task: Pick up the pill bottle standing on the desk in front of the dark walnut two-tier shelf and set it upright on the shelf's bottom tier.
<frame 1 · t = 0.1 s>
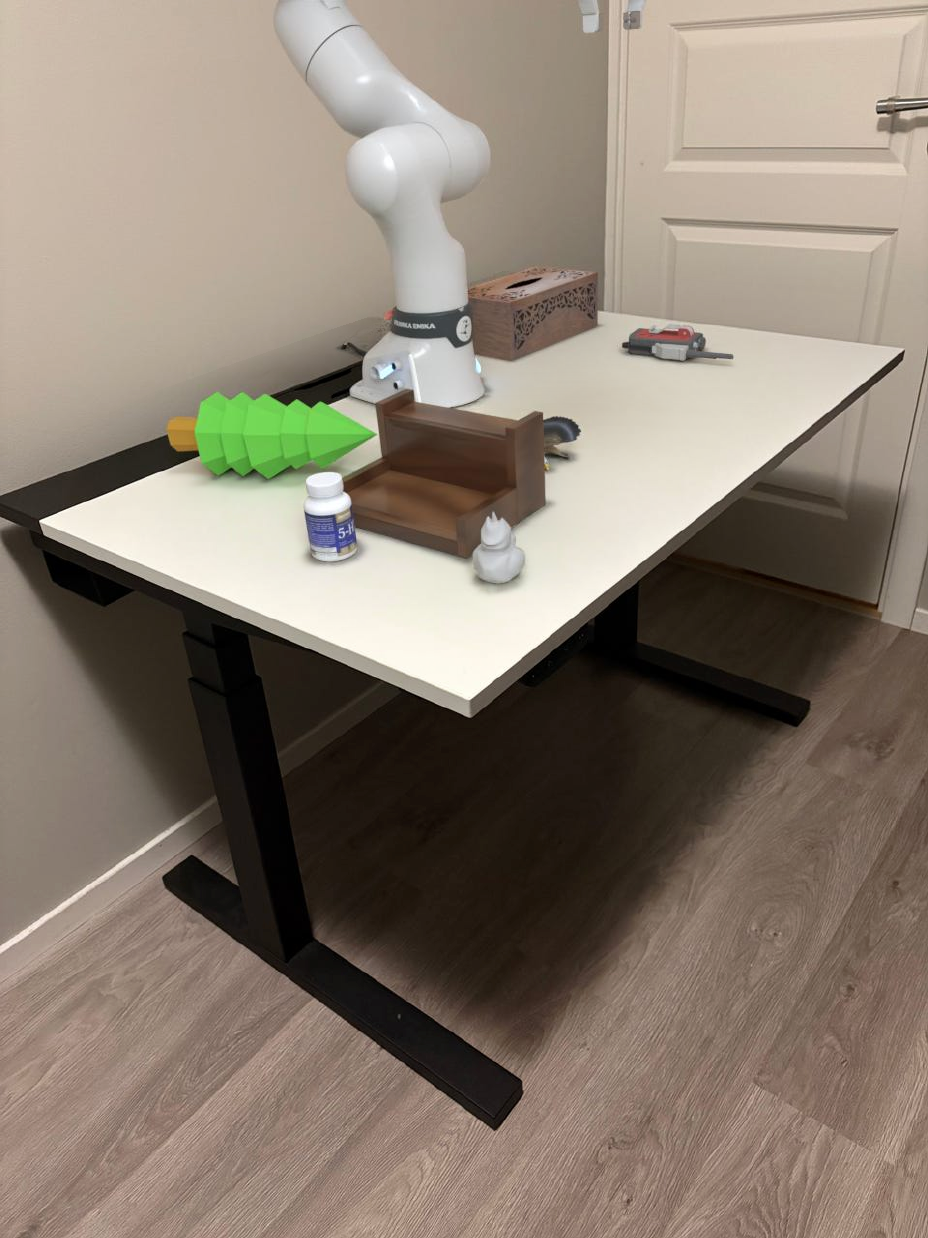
hand: (613, 30, 110), 48 cm above the table, tool pointing down, fingers open, 8 cm apart
tissue box cover: (526, 339, 178), on the table
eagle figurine: (540, 466, 125), on the table
rubber duck: (500, 578, 100), on the table
shelf: (448, 505, 115), on the table
pill bottle: (335, 553, 107), on the table
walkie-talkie: (680, 355, 162), on the table
decorative tree: (277, 475, 128), on the table
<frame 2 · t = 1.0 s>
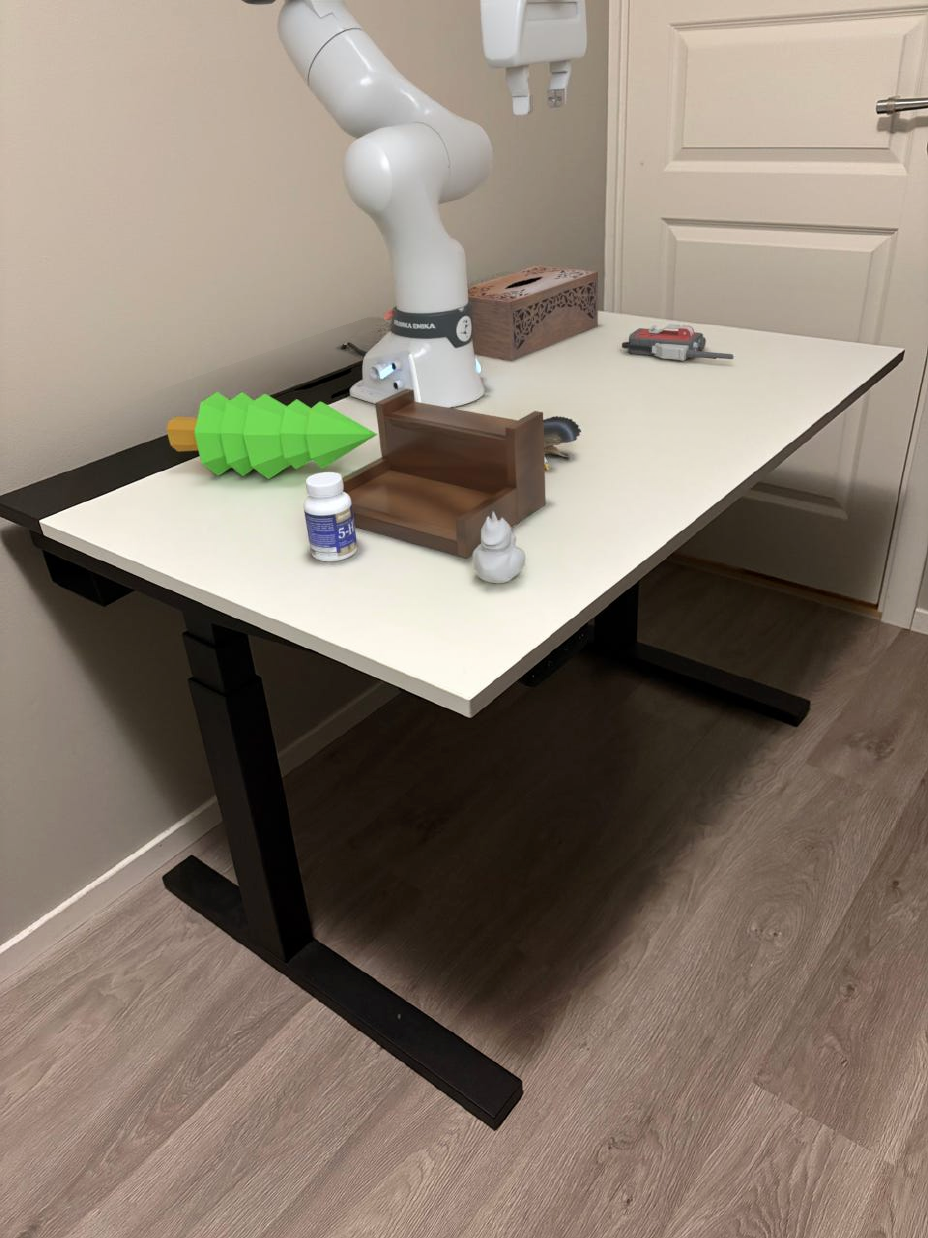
hand: (540, 110, 107), 41 cm above the table, tool pointing down, fingers open, 8 cm apart
nothing on the table moved.
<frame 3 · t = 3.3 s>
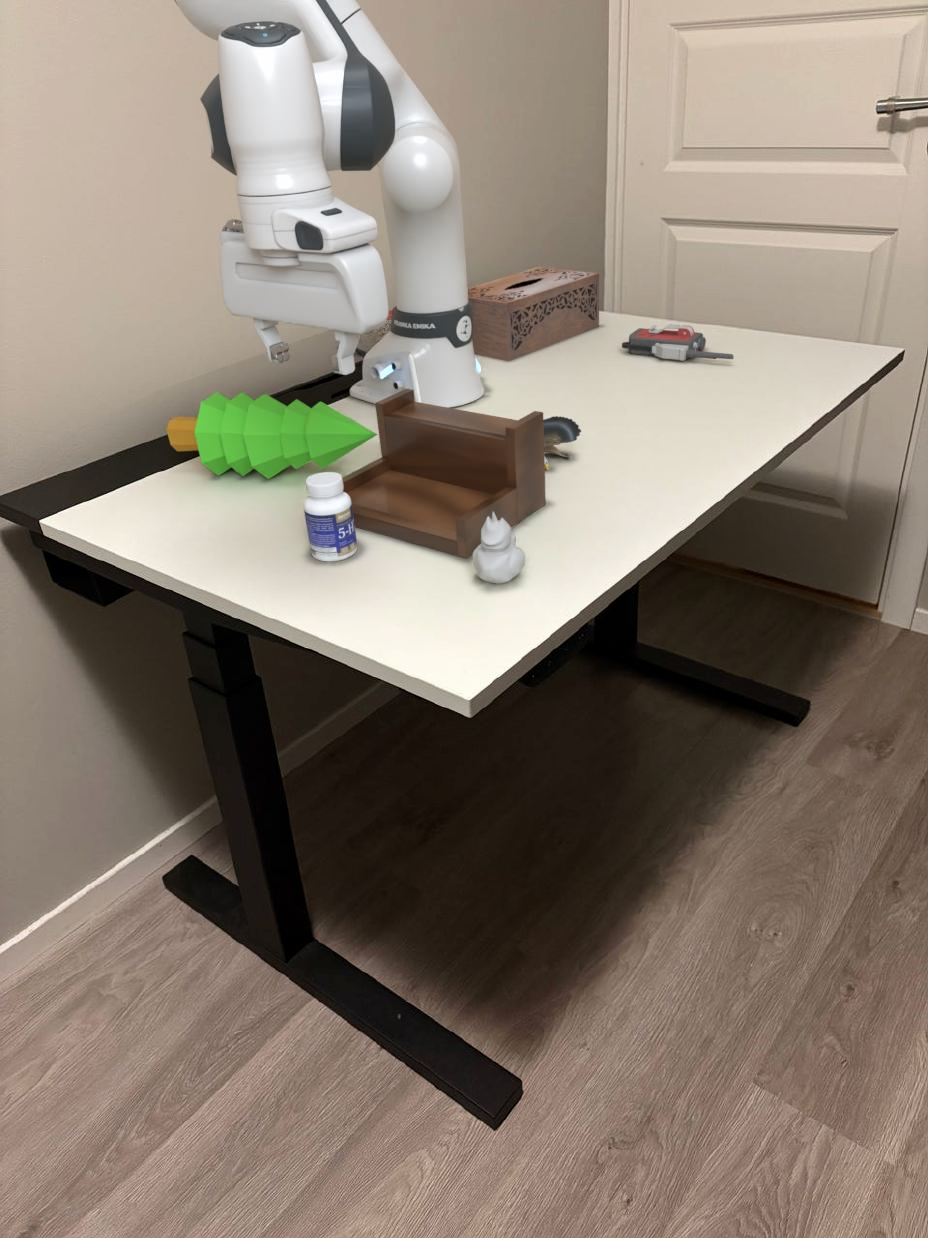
hand: (311, 366, 97), 21 cm above the table, tool pointing down, fingers open, 8 cm apart
nothing on the table moved.
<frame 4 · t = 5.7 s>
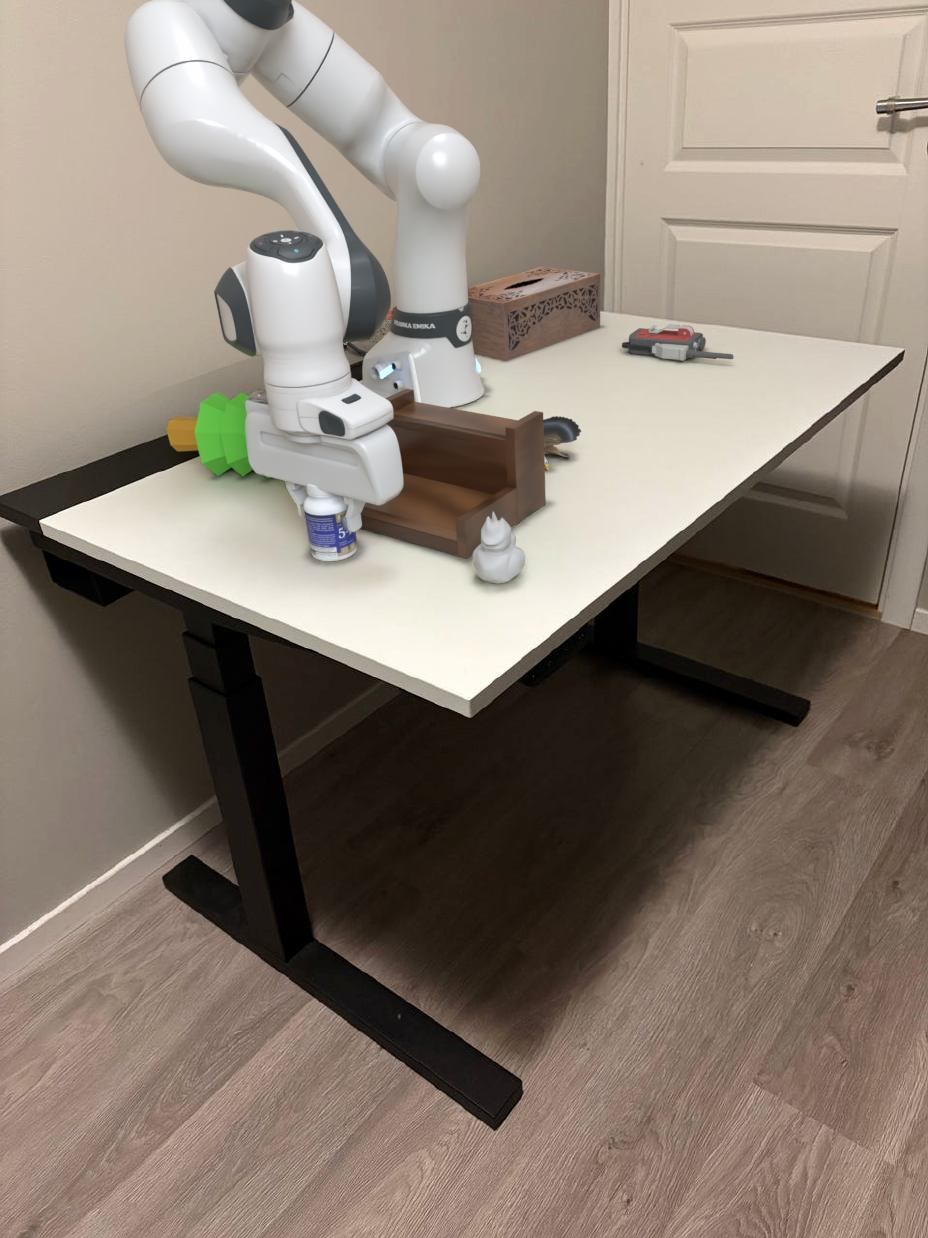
hand: (330, 522, 105), 4 cm above the table, tool pointing down, fingers closed on pill bottle, 5 cm apart
pill bottle: (335, 553, 107), on the table, touching gripper
everything else where it was.
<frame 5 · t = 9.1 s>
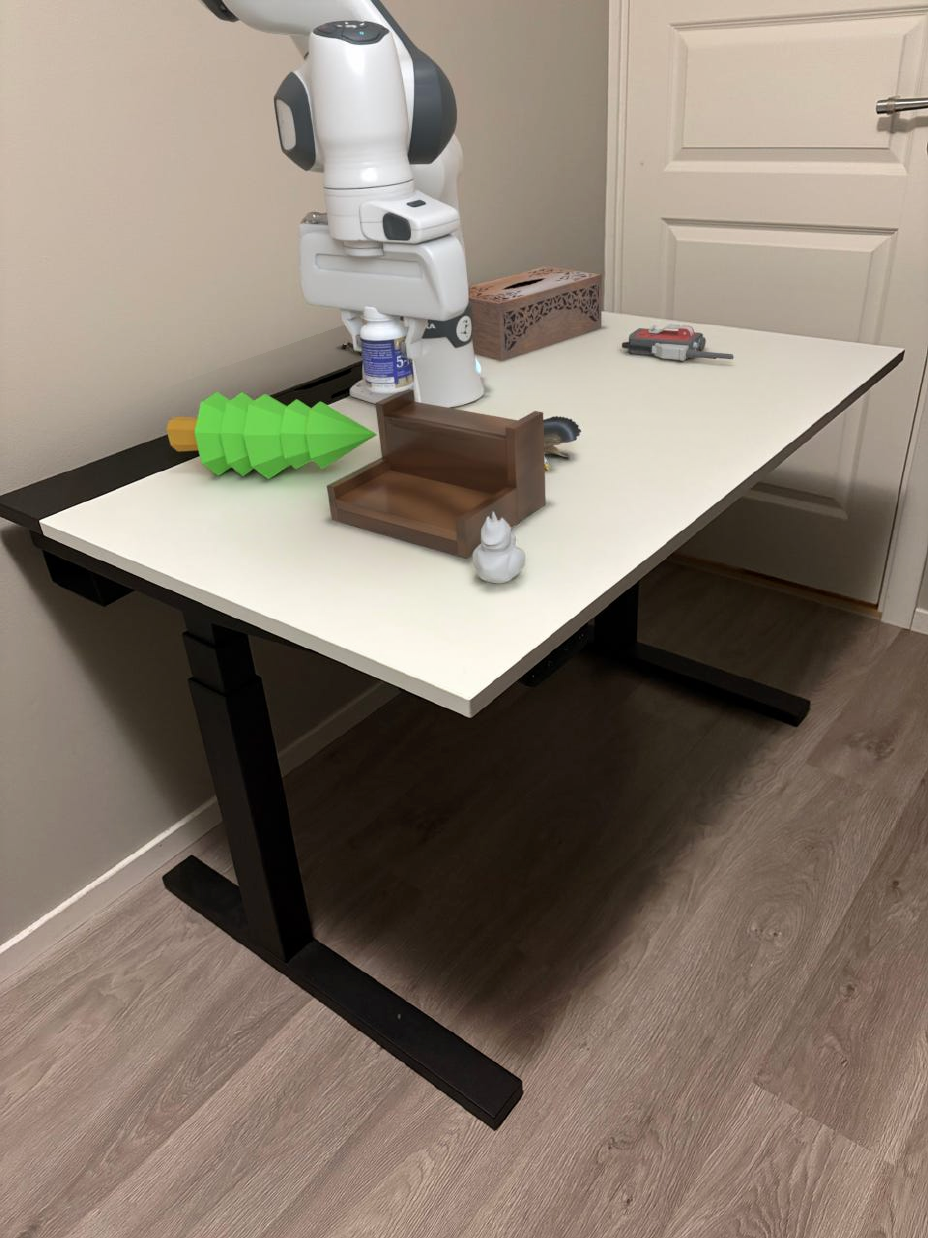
hand: (387, 353, 101), 20 cm above the table, tool pointing down, fingers closed on pill bottle, 5 cm apart
pill bottle: (391, 388, 103), point 17 cm above the table, touching gripper
everything else where it was.
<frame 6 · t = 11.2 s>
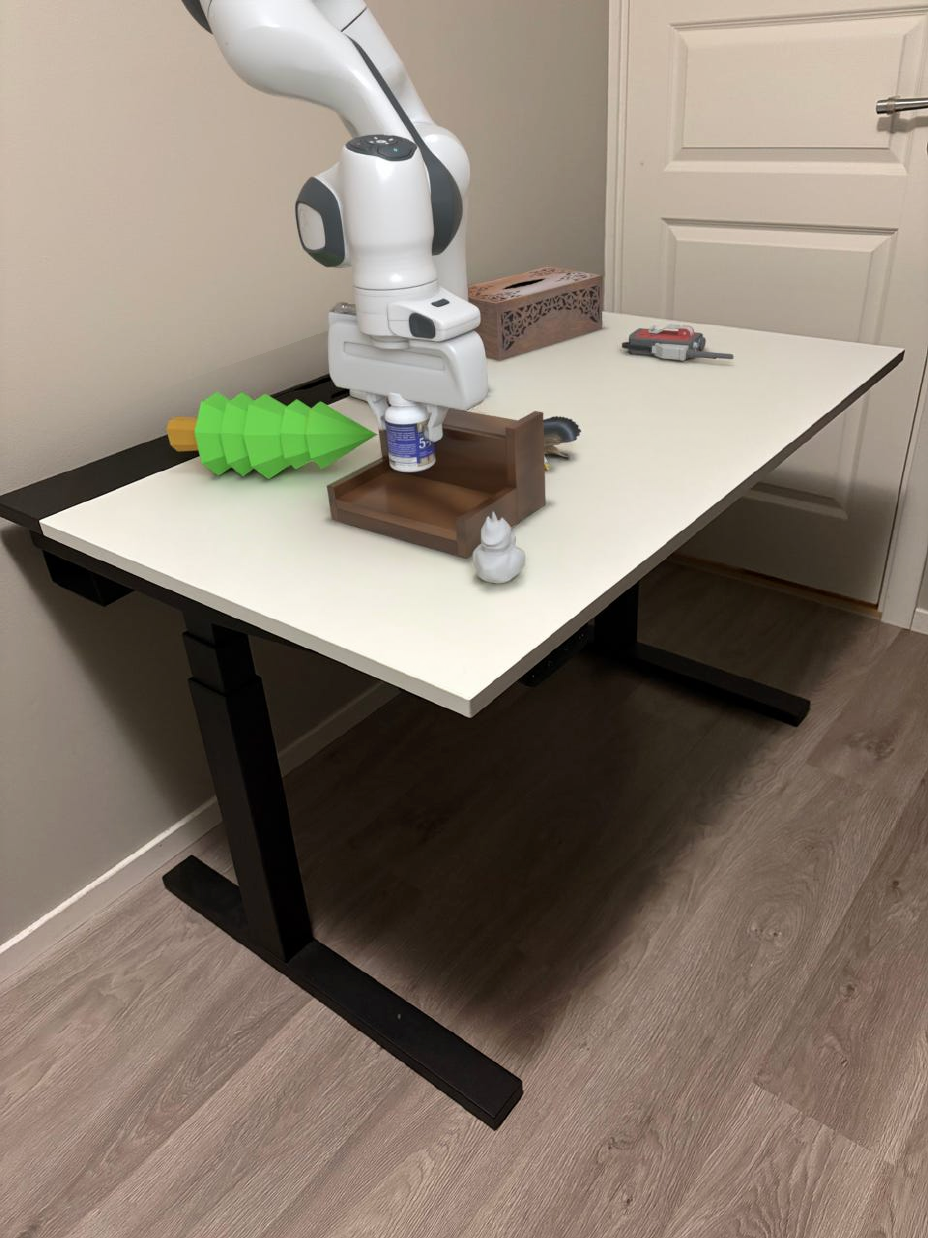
hand: (410, 434, 107), 11 cm above the table, tool pointing down, fingers closed on pill bottle, 5 cm apart
pill bottle: (413, 465, 109), point 7 cm above the table, touching gripper
when the fingers open (6 cm above the table, at t = 12.8 s): pill bottle stays where it is, resting on shelf.
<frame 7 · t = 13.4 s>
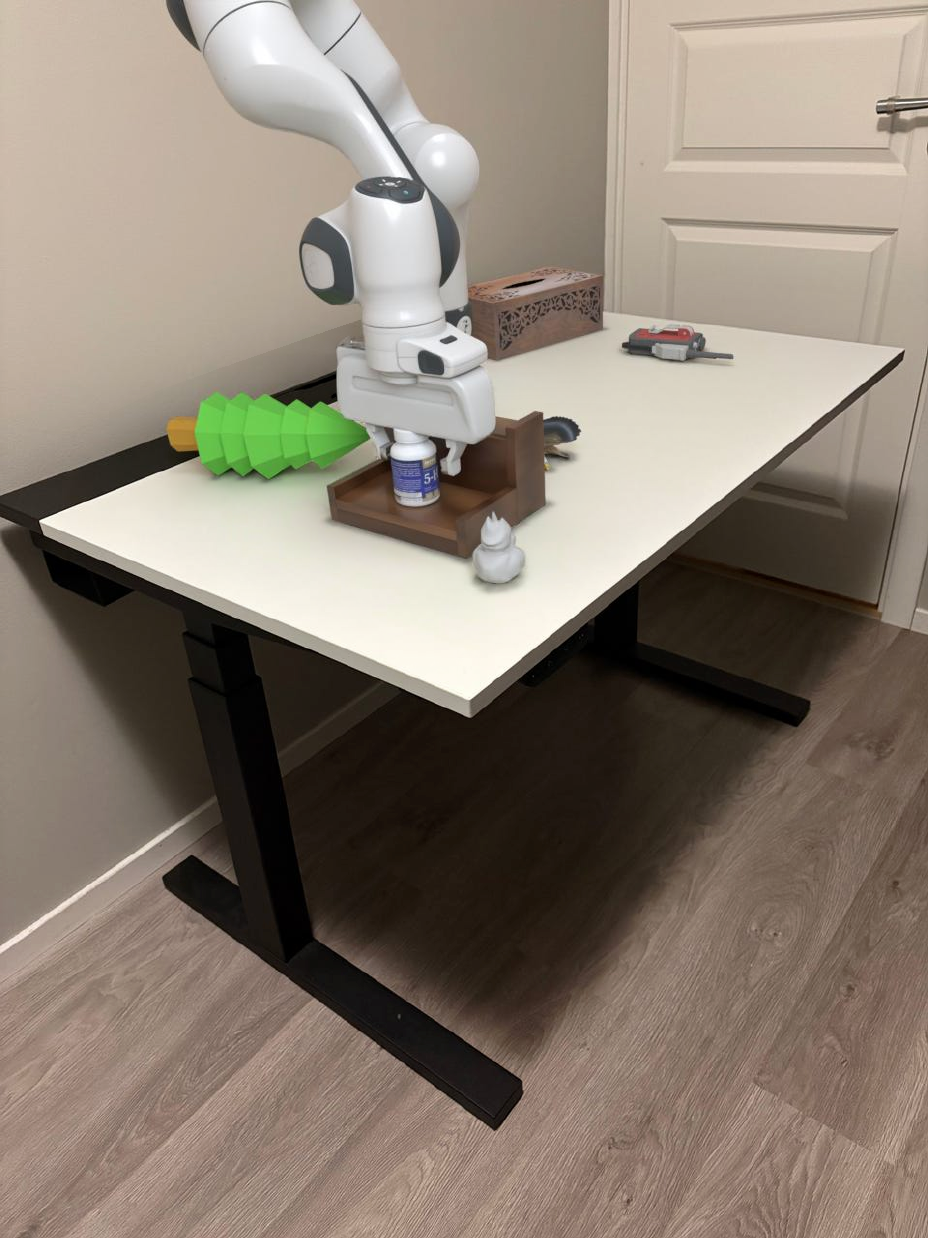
hand: (418, 465, 108), 7 cm above the table, tool pointing down, fingers open, 8 cm apart
pill bottle: (418, 499, 111), point 3 cm above the table, touching shelf
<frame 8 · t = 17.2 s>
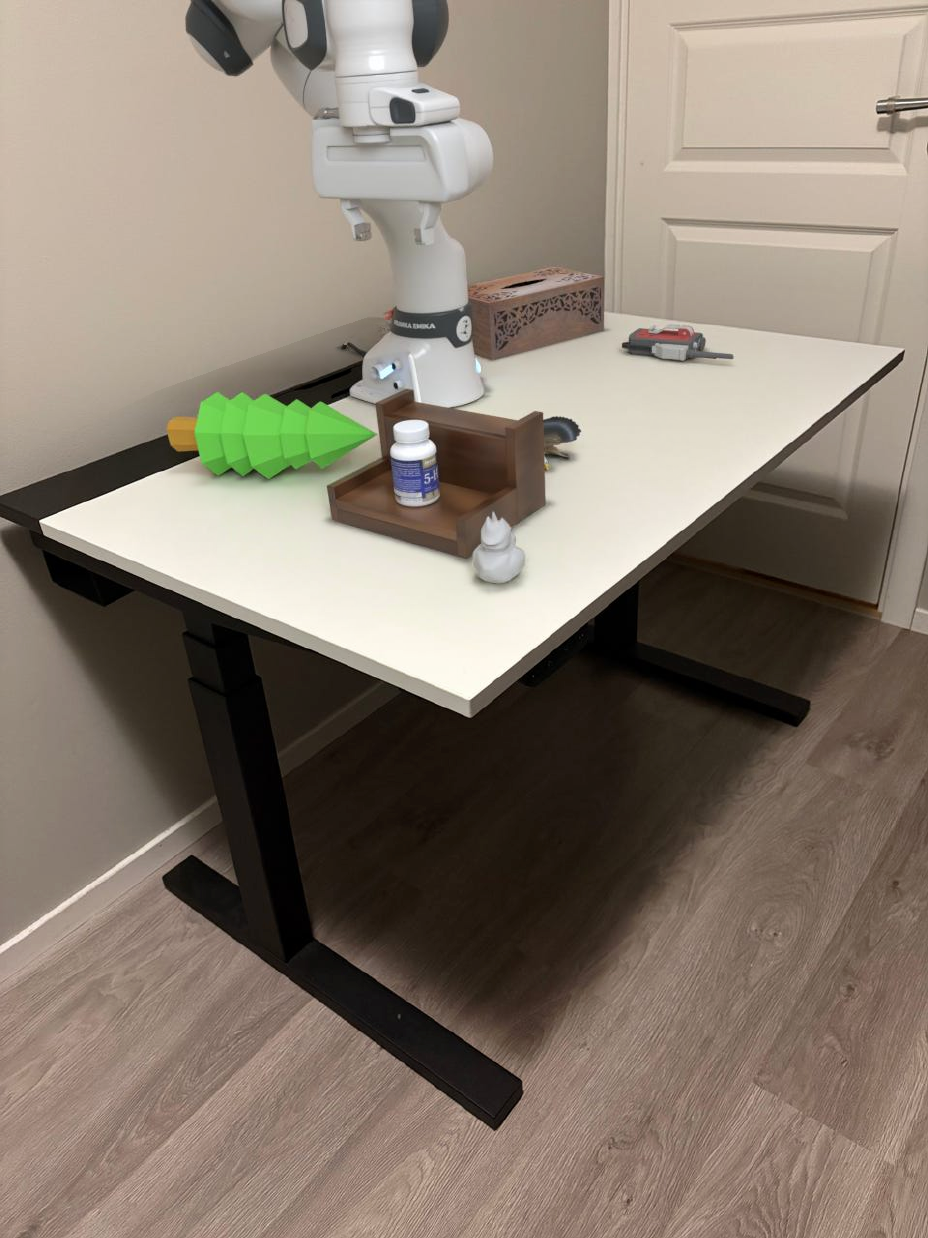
hand: (393, 242, 108), 29 cm above the table, tool pointing down, fingers open, 8 cm apart
at the end: pill bottle inside the target area on the shelf (0.3 cm from its centre), point 2.8 cm above the shelf's base; pill bottle tilted 0°; the gripper is holding nothing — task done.
